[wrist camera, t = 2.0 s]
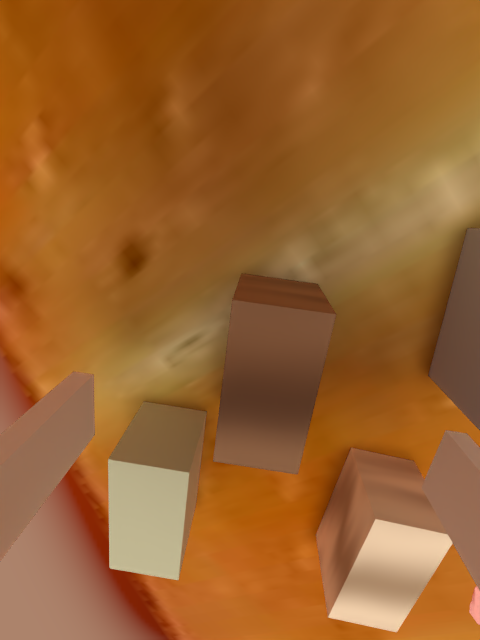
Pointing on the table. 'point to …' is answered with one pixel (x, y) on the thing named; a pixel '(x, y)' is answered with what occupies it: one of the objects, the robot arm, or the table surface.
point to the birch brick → (378, 541)
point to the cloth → (475, 605)
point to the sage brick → (154, 489)
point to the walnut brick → (272, 372)
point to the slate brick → (462, 334)
